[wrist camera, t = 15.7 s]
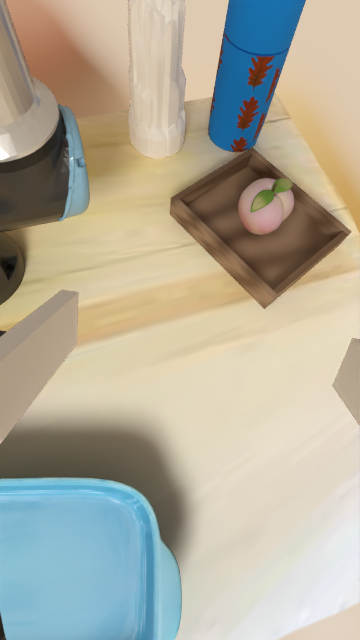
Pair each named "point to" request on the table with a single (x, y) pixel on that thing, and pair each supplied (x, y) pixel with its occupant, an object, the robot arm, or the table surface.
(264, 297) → the walnut tray
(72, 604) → the casserole dish
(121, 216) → the table surface
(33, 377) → the robot arm
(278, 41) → the thermos
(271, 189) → the decorative fruit
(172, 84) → the decorative vase
